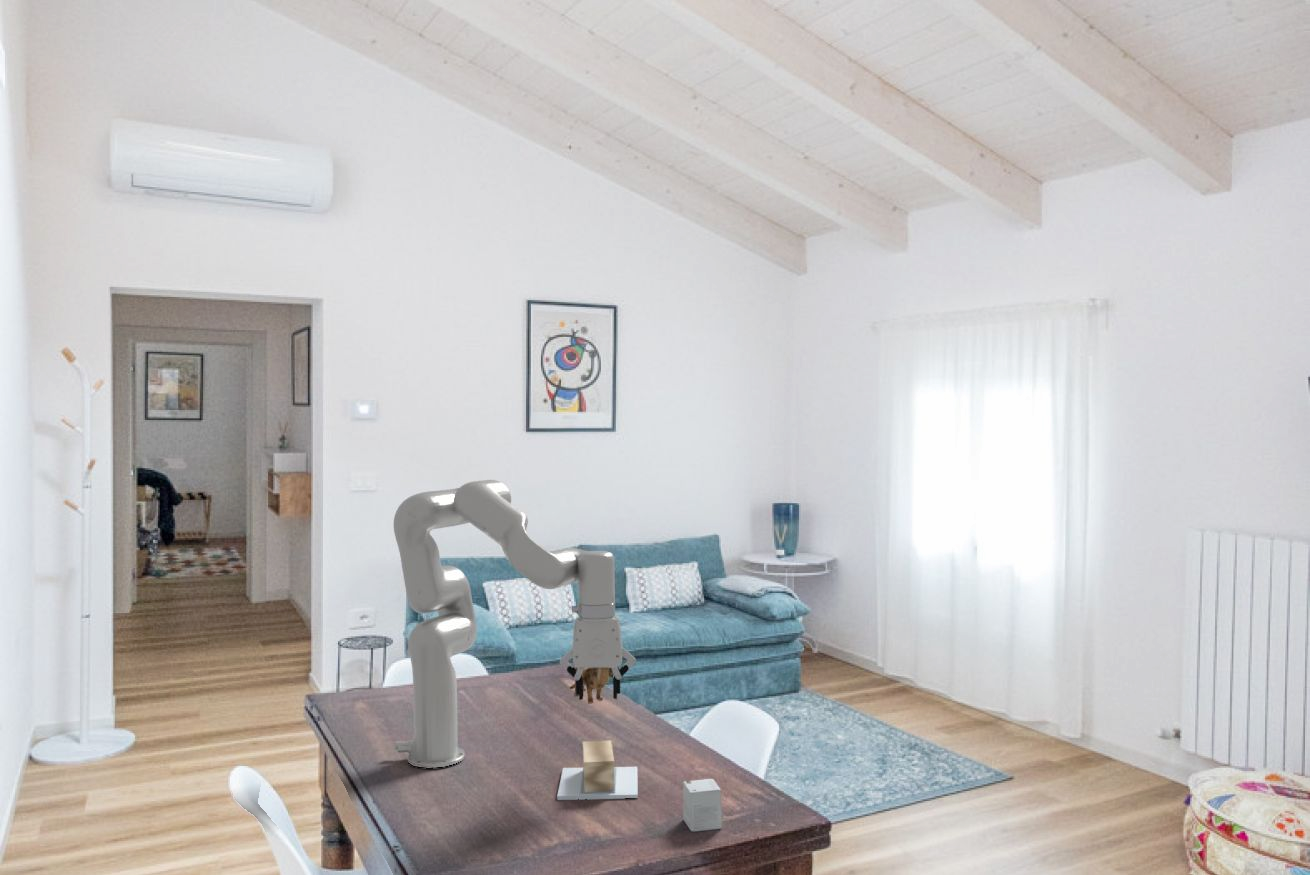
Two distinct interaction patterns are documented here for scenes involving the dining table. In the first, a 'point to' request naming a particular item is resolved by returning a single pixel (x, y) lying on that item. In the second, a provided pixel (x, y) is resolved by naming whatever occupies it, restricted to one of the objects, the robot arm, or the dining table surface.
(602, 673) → the lion figurine
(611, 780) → the oak block
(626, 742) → the dining table surface
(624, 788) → the board
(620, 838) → the dining table surface
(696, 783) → the skincare box
